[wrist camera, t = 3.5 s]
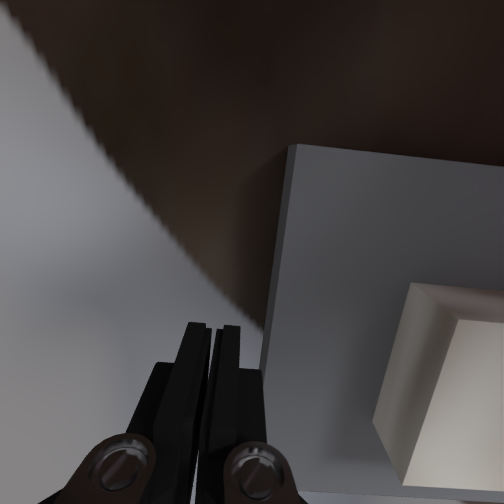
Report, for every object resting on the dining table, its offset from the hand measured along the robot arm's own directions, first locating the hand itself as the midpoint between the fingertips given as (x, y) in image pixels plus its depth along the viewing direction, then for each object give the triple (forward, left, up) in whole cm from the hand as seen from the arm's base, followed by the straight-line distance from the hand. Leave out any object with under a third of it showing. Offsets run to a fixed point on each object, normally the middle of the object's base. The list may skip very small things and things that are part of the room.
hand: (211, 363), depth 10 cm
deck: (0, +10, -3) cm, 10 cm away
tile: (0, +11, -1) cm, 11 cm away
